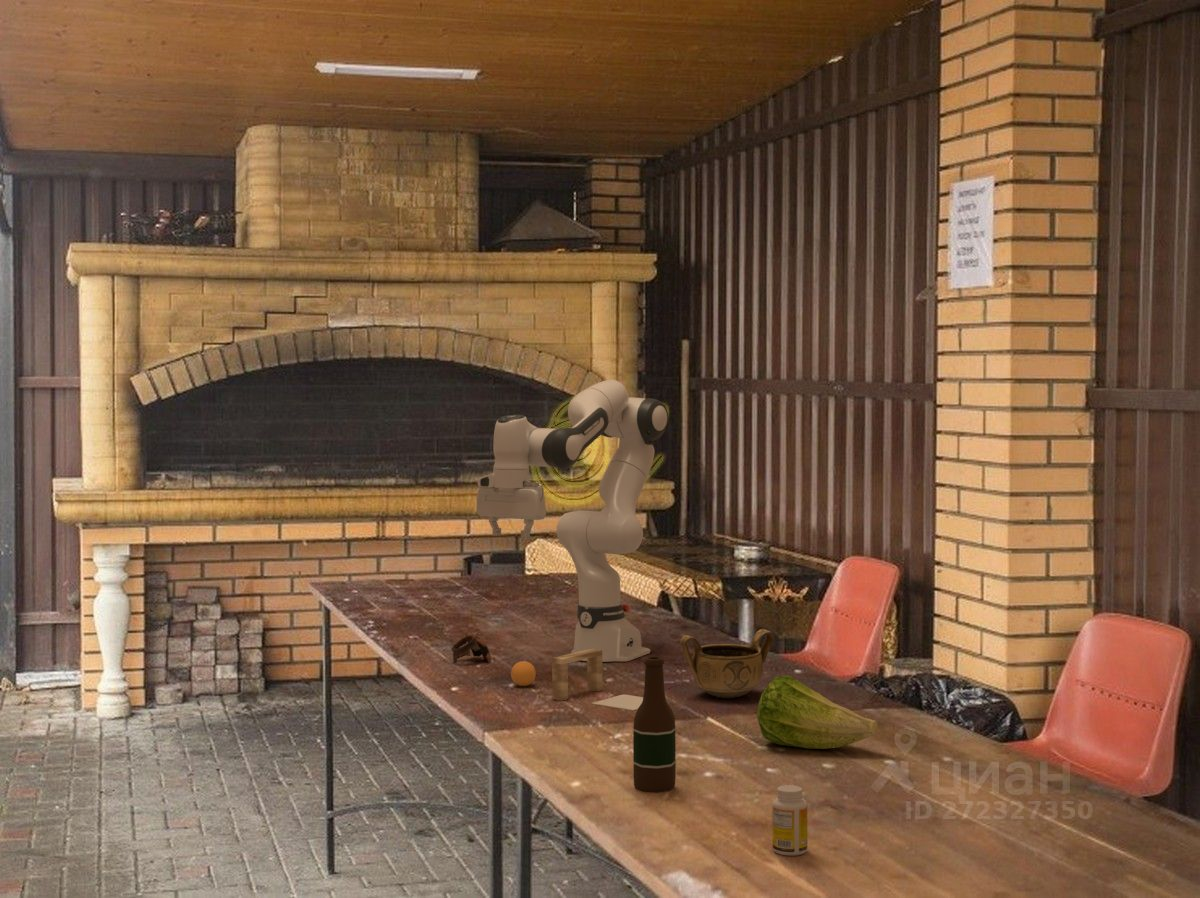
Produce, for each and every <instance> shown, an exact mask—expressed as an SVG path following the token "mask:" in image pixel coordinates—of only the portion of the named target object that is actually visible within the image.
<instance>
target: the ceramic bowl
mask: <svg viewBox="0 0 1200 898" xmlns="http://www.w3.org/2000/svg"><path fill="white" fill-rule="evenodd" d="M764 637H765V639H764V641H763V643H762V645H760V644H761V641H762V639H763V638H764ZM689 640H690V641H691V643H693V646H694V650H693V654H692V655H691V652H690V650H689V647H688V645H687V644H688V642H689ZM679 642H680V648H681V650H682V652H683V654H684V658H685V659H686V662H687V664H688V666H689V669H690V670H691V672H692V675H693V677H694V680H695V682H696V684H697V685H698V686H699V688H700V689H702V690H703V691H705V693H708V694H709V695H711V696H713V697H715V696H716V698H719V697H722V698H721V699H735V697H737V698H740V697H742V696H745V695H746V694H748V693H749V692H751V691H753V690H754V688H756V686H757V685H759V683H760V681H761V679H762V675H763V670H764V663H765V660H766V658H767V656H768V654H769V652H770V649H771V647H772V645H773V642H774V634H773V632H772V631H769V630H768V629H765V628H762V629H759V630H758V631H756V633H755V634H754V635H753V637H752V640H751V643H750V645H746V644H734V643H733V644H730V643H716V644H714V643H713V644H705V645H701V644H700V642H699V641H698V640H697V638H695V637H694V636H691V635H687V634H686V635H683V636H682V637H681V639H680V641H679Z"/></svg>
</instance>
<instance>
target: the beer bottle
mask: <svg viewBox="0 0 1200 898" xmlns="http://www.w3.org/2000/svg"><path fill="white" fill-rule="evenodd" d="M664 660H665V659H664V658H663V657H661V656H647V657H646V658H645V659H644V661H643V664H644V665H645V670H644V671H645V672H644V686H643V687H644V688H643V696H642V697H643V702H642V703H641V705H640V706H639V708H638V710H636V712H635V715H634V718H633V726H632V728H633V729H632V731H633V733H632V734H633V736H632V737H633V738H632V739H633V743H632V744H633V757H632V758H633V759H632V760H633V764H632V765H633V786H634V788H635V789H637V790H638V791H641V792H644V793H645V792H648V793H661V792H662V793H663V792H669V791H672V789H673V788H674V787H675V786H676V771H677V770H676V762H677V761H676V758H677V757H676V755H677V754H676V719H675V716H674V712H673V710H672V708H671V707H670V705H669V703H668V702H667V699H666V694H665V693H666V692H665V679H664V664H665V661H664Z"/></svg>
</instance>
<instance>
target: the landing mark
mask: <svg viewBox="0 0 1200 898" xmlns="http://www.w3.org/2000/svg"><path fill="white" fill-rule="evenodd" d="M642 702H643V696H636V695H631V694H620V695H616V696H613V697H609V698H604V699H602V700H598V701H594V702H591V705H595V706H596V705H597V706H601V707H602V706H603V707H608V708H615V709H620V710H628V711H633V712H634V711H637V710H638V708H639V706H640V705H641V703H642Z"/></svg>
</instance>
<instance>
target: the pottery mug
mask: <svg viewBox="0 0 1200 898" xmlns="http://www.w3.org/2000/svg"><path fill="white" fill-rule="evenodd" d="M488 648H489V647H488V645H487V643H486V642H485V641H484V640H482V639H481V637H480V636H477V635H475V634H469V635H465V636H463V637H462V638H461V639H459V640H458V641H456V642H455V643H454V644H453V647H451V649H450V650H451V651H452V652H453V653H452V660H453V661H454V663H457V662H458V660H459V659H460V658H464V657H466V656H467V657H471V653H472V656H473V657H481V656H482V659H484V660H483V661H487V664H490V663H491V662H492V658H491V653H490V650H489V649H488Z"/></svg>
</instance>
